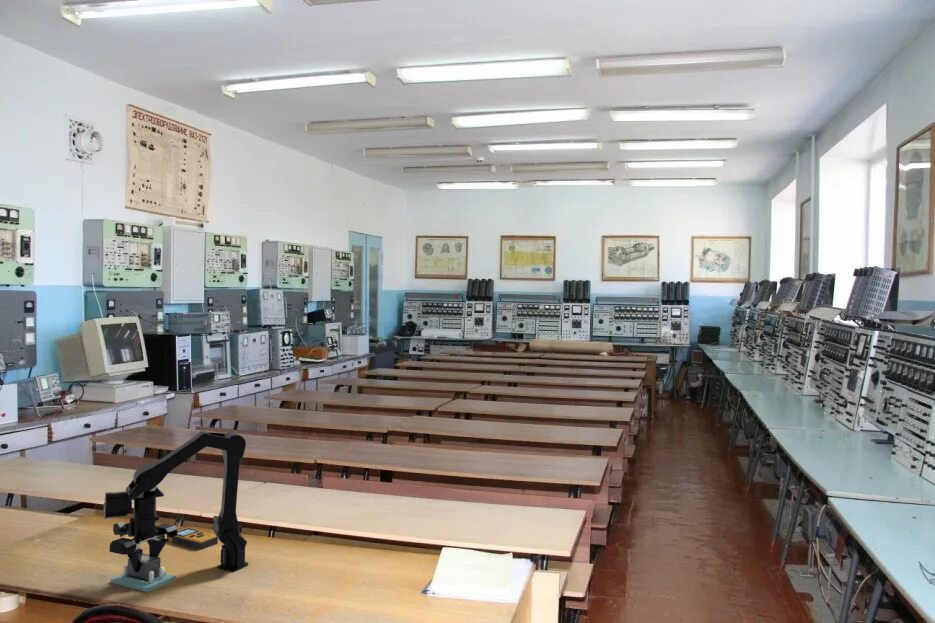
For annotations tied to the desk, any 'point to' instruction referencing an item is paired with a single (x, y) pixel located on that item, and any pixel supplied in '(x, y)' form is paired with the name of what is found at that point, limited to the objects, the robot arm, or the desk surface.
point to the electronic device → (193, 538)
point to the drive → (145, 567)
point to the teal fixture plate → (144, 585)
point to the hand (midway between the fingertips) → (144, 568)
